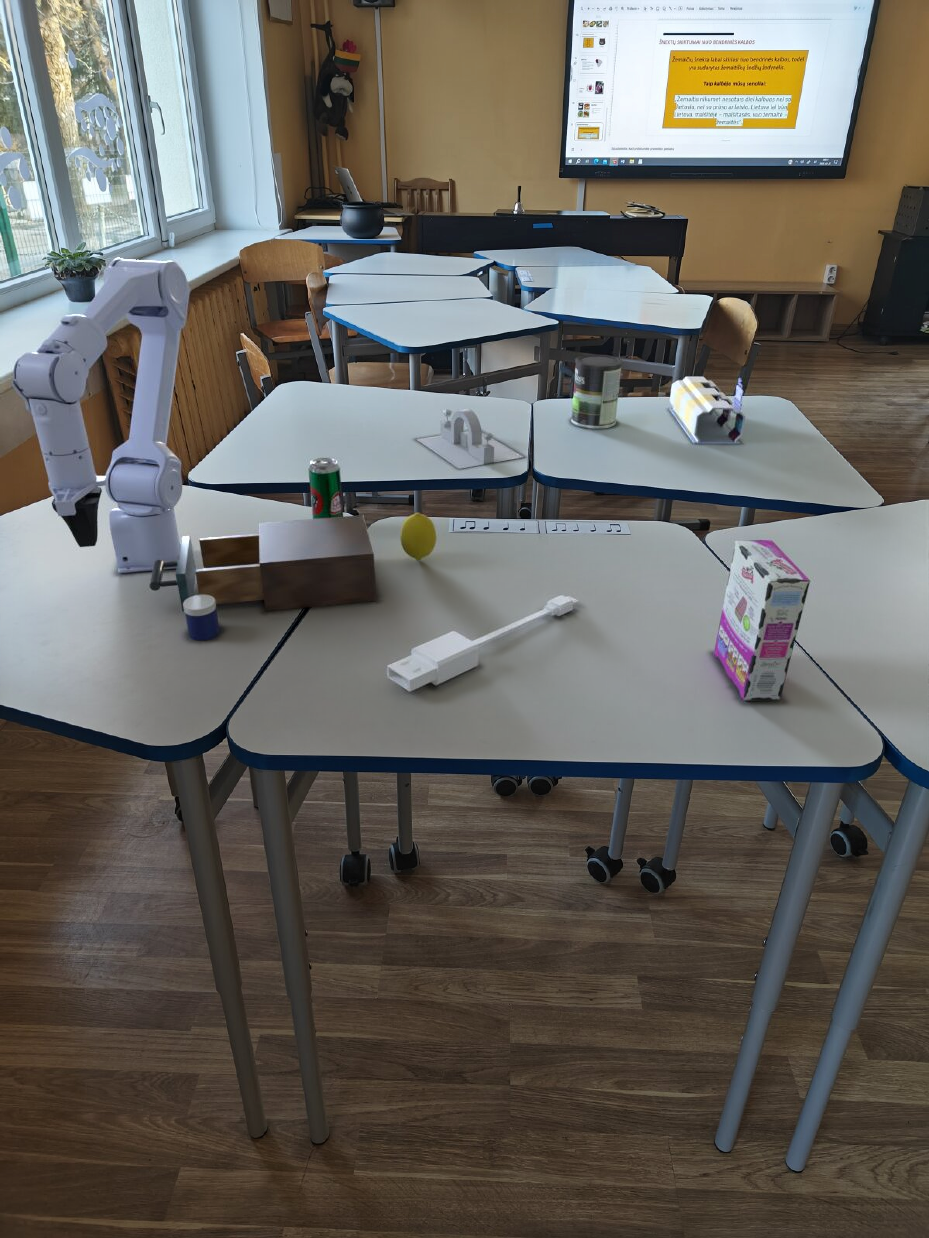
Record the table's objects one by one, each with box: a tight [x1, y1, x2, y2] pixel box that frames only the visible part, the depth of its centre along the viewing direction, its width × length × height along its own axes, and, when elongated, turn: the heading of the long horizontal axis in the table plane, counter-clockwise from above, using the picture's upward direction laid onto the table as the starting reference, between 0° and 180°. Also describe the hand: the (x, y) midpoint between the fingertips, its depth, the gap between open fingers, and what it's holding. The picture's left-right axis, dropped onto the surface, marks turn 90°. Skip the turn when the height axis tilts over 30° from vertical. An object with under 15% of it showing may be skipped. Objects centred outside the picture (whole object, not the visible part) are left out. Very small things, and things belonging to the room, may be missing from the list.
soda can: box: [308, 457, 344, 519], centre depth 141 cm, size 5×5×12 cm
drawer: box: [149, 533, 264, 612], centre depth 123 cm, size 19×12×6 cm, turn 102°
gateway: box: [439, 408, 496, 465], centre depth 178 cm, size 20×2×8 cm, turn 28°
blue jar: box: [183, 594, 220, 641], centre depth 114 cm, size 4×4×5 cm
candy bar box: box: [713, 539, 811, 702], centre depth 103 cm, size 11×5×16 cm, turn 5°
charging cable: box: [386, 594, 579, 693], centre depth 112 cm, size 5×32×3 cm, turn 133°
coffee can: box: [570, 353, 623, 430], centre depth 193 cm, size 10×10×14 cm
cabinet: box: [258, 514, 377, 612], centre depth 125 cm, size 16×14×8 cm
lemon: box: [400, 512, 437, 561], centre depth 132 cm, size 6×6×8 cm
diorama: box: [669, 376, 746, 445], centre depth 191 cm, size 25×10×13 cm, turn 0°
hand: (88, 543), depth 117 cm, fingers closed
